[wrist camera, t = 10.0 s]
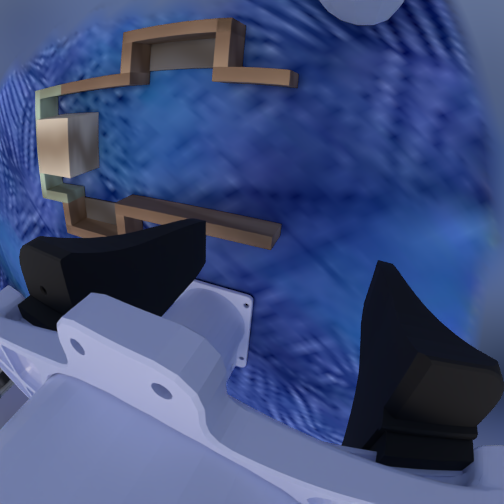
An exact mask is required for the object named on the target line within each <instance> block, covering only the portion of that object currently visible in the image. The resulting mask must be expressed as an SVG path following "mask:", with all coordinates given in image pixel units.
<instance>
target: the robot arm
mask: <svg viewBox="0 0 504 504" xmlns="http://www.w3.org/2000/svg"><path fill="white" fill-rule="evenodd" d="M19 258H20V265H21V269H22V273H23V276H24V279H25V282H26V285H27V288H28V291H29V294H30V296H29V297H27V298H26V299H25V298H24V297H23V296H22V294H21V293H19V292H18V291H16V290H15V289H14V288H12V287H11V286H7V287H5V288H4V289H3V290H1V291H0V368H1V369H2V370H3V371H4V373H5V374H6V375H7V376H8V377H9V378H10V379H11V380H12V381H13V382H14V383H15V384H16V385H17V386H18V387H19V388H20V390H22V392H23V393H24V394H25V395H26V396H27V397H28V398H29V400H28V401H27V402H26V403H25V404H24V405H23V406H22V407H21V408H20V409H19V410H18V411H17V412H16V413H15V414H14V416H13V417H12V418H11V419H10V420H9V421H8V422H7V423H6V424H5V425H4V426H3V427H2V428H1V430H0V504H504V445H492V446H491V445H490V446H486V445H485V446H480V447H477V448H475V449H473V440H474V439H475V438H477V435H478V432H477V425H478V424H479V423H480V422H481V421H482V420H483V419H484V418H485V417H486V416H487V414H488V413H489V412H490V411H491V410H492V409H493V408H494V407H495V405H496V404H497V403H498V401H499V400H500V398H501V396H502V393H503V391H504V382H503V378H502V374H501V371H500V367H499V364H498V361H497V360H495V359H493V358H491V357H490V356H488V355H486V354H484V353H482V352H481V351H479V350H477V349H475V348H474V347H472V346H471V345H469V344H468V343H466V342H465V341H464V340H462V339H461V338H459V337H458V336H457V335H455V334H454V333H453V332H452V331H451V330H449V329H448V328H447V327H446V326H445V325H444V324H442V323H441V322H440V321H439V320H438V319H437V318H436V317H435V316H434V315H433V314H432V313H431V312H430V311H429V310H428V309H427V308H426V306H425V305H424V304H423V303H422V302H421V301H420V299H419V298H418V297H417V296H416V294H415V293H414V292H413V291H412V289H411V288H410V287H409V285H408V284H407V283H406V281H405V280H404V278H403V277H402V276H401V274H400V273H399V271H398V270H397V269H396V267H395V266H394V265H393V264H391V263H387V262H383V261H379V260H378V262H377V265H376V268H375V271H374V275H373V278H372V281H371V284H370V287H369V290H368V293H367V296H366V299H365V302H364V307H363V314H362V320H361V341H360V364H359V375H358V381H357V386H356V391H355V396H354V401H353V405H352V410H351V414H350V418H349V422H348V425H347V429H346V433H345V436H344V440H343V443H342V446H341V445H336V444H332V443H327V442H323V441H320V440H318V439H316V438H313V437H311V436H309V435H307V434H304V433H302V432H300V431H298V430H296V429H294V428H291V427H289V426H287V425H285V424H283V423H281V422H279V421H277V420H275V419H273V418H271V417H269V416H267V415H265V414H263V413H261V412H259V411H257V410H255V409H254V408H252V407H250V406H248V405H246V404H244V403H242V402H241V401H239V400H237V399H235V398H233V397H232V396H230V395H228V394H227V390H226V382H227V380H228V379H229V377H230V375H231V373H232V371H233V369H234V368H235V366H239V367H242V368H243V367H245V366H246V364H247V356H248V347H249V337H250V328H251V318H252V309H253V298H252V296H250V295H248V294H244V293H241V292H237V291H234V290H230V289H227V288H223V287H220V286H216V285H213V284H209V283H206V282H202V281H199V280H196V279H195V278H196V277H197V275H198V274H199V272H200V271H201V269H202V267H203V266H204V264H205V263H206V221H204V220H200V219H195V218H190V219H184V220H179V221H175V222H171V223H167V224H163V225H160V226H156V227H152V228H148V229H144V230H140V231H135V232H131V233H126V234H120V235H113V236H105V237H93V238H56V237H44V236H40V237H37V238H35V239H33V240H32V241H30V242H28V243H27V244H25V245H23V246H22V248H21V249H20V256H19ZM173 303H174V304H173ZM245 303H246V304H248V305H249V306H247V305H246V304H245ZM172 304H173V305H172ZM171 305H172V306H171ZM170 306H171V307H170ZM169 307H170V308H169ZM168 308H169V310H168ZM167 310H168V311H167ZM166 311H167V312H166ZM165 312H166V313H165ZM164 313H165V314H164ZM163 314H164V315H163Z"/></svg>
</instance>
